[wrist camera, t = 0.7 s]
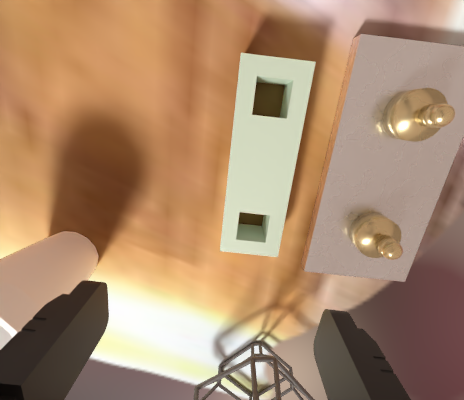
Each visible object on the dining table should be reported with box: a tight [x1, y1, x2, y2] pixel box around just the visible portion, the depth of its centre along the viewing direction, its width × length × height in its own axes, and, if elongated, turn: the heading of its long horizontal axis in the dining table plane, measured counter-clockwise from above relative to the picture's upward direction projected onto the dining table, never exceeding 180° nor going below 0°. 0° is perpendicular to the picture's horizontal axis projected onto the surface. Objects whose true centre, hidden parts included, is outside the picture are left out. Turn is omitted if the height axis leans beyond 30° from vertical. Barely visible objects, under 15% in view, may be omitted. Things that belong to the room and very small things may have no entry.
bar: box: [220, 53, 316, 257], centre depth 25 cm, size 18×6×4 cm, turn 174°
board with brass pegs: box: [301, 34, 464, 282], centre depth 24 cm, size 24×12×6 cm, turn 174°
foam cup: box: [0, 231, 99, 350], centre depth 25 cm, size 10×9×13 cm
